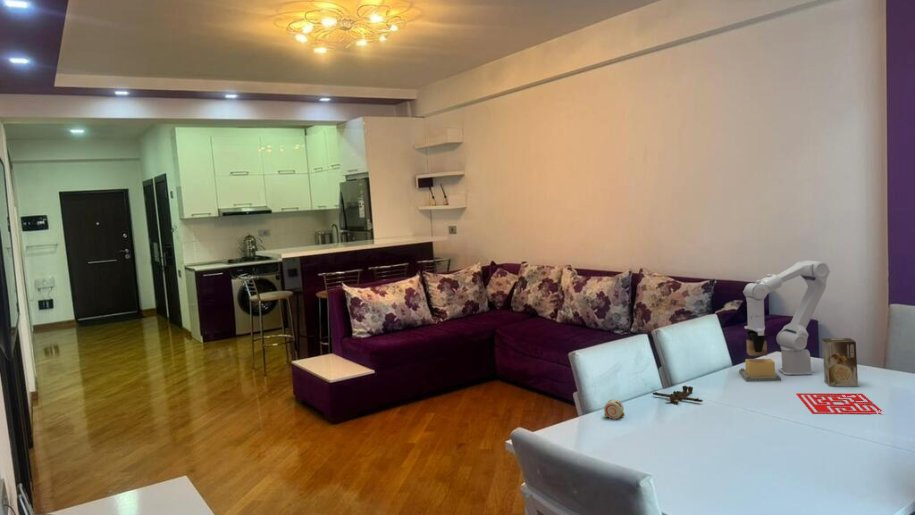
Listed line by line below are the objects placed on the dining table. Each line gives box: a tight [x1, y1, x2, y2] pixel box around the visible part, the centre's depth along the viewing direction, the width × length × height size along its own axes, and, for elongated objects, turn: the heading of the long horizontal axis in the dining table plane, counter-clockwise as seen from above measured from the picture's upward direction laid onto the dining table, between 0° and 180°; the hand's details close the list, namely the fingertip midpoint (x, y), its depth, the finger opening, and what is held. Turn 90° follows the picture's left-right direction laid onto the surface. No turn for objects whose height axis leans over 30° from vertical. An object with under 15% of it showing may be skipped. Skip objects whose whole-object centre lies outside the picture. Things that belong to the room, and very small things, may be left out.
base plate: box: [738, 367, 782, 383], centre depth 235 cm, size 12×12×2 cm
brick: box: [744, 358, 776, 376], centre depth 234 cm, size 9×6×5 cm, turn 77°
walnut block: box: [745, 339, 768, 357], centre depth 233 cm, size 6×4×5 cm
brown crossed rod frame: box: [652, 385, 704, 404], centre depth 218 cm, size 18×4×14 cm
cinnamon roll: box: [603, 398, 625, 420], centre depth 204 cm, size 4×6×6 cm
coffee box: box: [821, 337, 859, 387], centre depth 218 cm, size 9×6×16 cm
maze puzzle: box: [795, 392, 883, 415], centre depth 200 cm, size 20×20×1 cm
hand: (756, 350), depth 233 cm, fingers closed on walnut block, 4 cm apart
